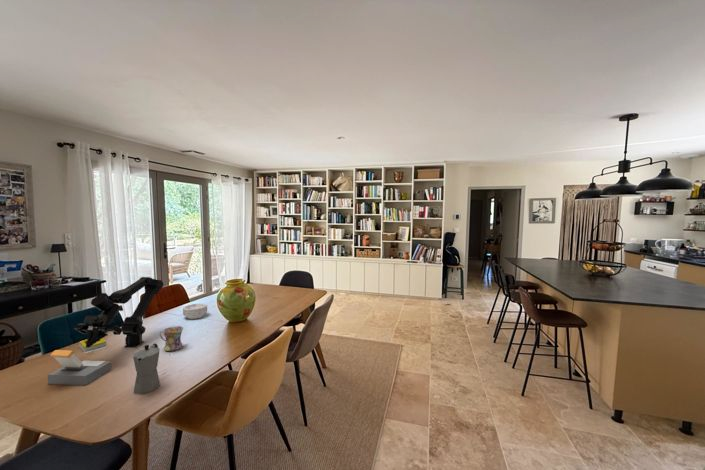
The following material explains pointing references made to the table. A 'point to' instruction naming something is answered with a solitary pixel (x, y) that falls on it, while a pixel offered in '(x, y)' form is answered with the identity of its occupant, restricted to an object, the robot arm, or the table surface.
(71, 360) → the handle
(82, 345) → the emergency button
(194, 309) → the paper bowls
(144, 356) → the coffeepot
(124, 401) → the table surface
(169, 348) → the mug
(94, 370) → the box
